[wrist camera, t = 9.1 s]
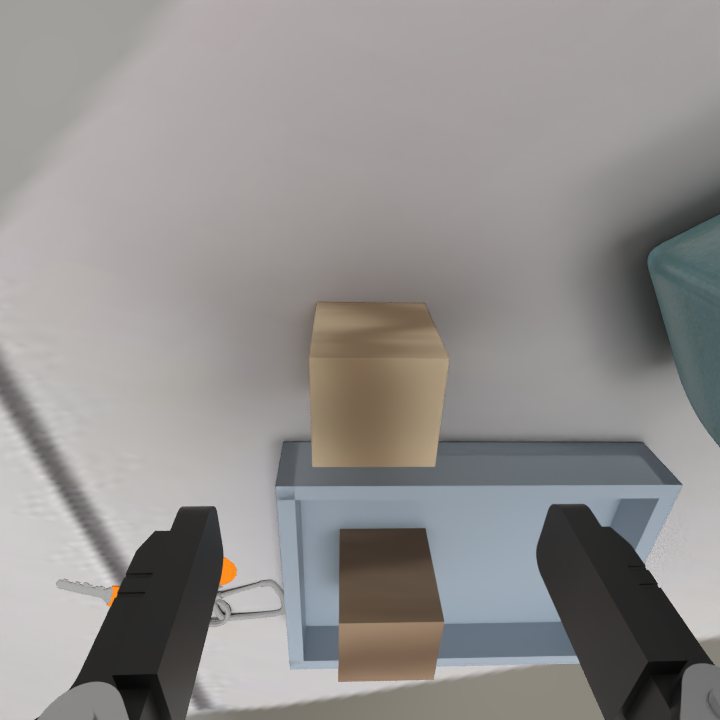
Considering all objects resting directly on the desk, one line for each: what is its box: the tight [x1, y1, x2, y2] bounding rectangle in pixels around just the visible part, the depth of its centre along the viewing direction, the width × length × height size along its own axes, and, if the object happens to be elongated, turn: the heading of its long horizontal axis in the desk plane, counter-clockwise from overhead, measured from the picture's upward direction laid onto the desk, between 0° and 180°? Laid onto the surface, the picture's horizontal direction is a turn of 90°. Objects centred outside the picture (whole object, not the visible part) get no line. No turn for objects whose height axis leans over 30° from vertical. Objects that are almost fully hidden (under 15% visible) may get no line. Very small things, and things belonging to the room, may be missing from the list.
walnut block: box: [338, 528, 444, 682], centre depth 22 cm, size 4×4×5 cm
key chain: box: [56, 557, 286, 627], centre depth 27 cm, size 13×7×1 cm, turn 100°
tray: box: [275, 442, 683, 669], centre depth 24 cm, size 18×14×3 cm
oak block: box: [309, 302, 450, 467], centre depth 18 cm, size 4×4×5 cm
